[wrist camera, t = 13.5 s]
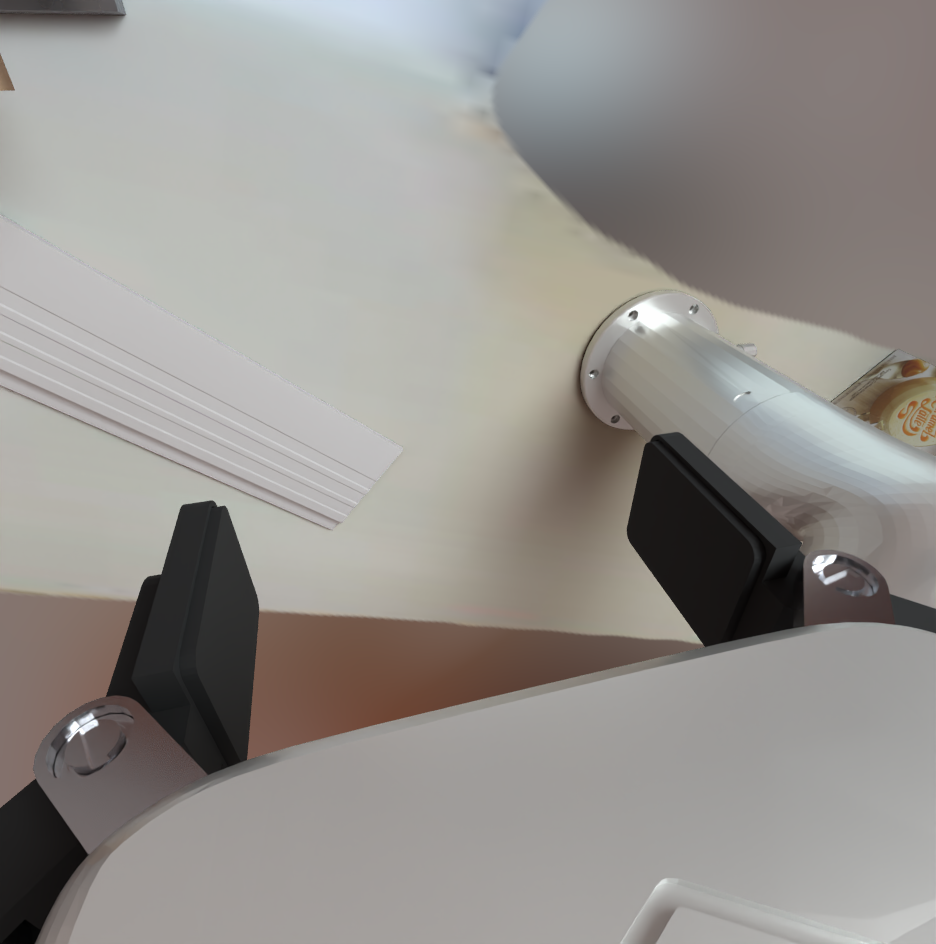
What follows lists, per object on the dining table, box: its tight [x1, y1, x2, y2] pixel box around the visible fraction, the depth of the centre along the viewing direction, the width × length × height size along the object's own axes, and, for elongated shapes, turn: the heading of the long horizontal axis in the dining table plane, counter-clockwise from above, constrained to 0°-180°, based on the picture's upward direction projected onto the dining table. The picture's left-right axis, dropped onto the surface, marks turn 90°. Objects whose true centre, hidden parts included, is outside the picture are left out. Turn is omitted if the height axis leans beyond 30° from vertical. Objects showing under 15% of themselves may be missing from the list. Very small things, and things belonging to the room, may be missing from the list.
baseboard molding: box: [0, 214, 403, 530], centre depth 39 cm, size 31×3×12 cm
